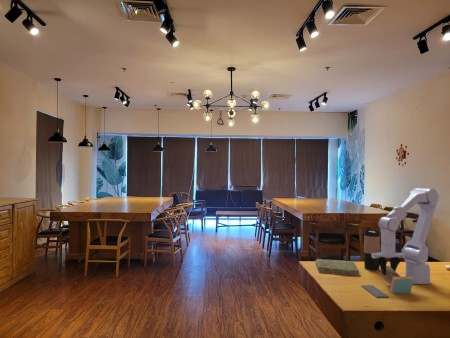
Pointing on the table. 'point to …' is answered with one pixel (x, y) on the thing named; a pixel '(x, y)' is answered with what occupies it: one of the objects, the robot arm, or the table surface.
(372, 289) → the mat
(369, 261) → the travel mug
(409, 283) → the tile
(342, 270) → the decorative tile
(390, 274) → the brown wooden plank
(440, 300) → the table surface
